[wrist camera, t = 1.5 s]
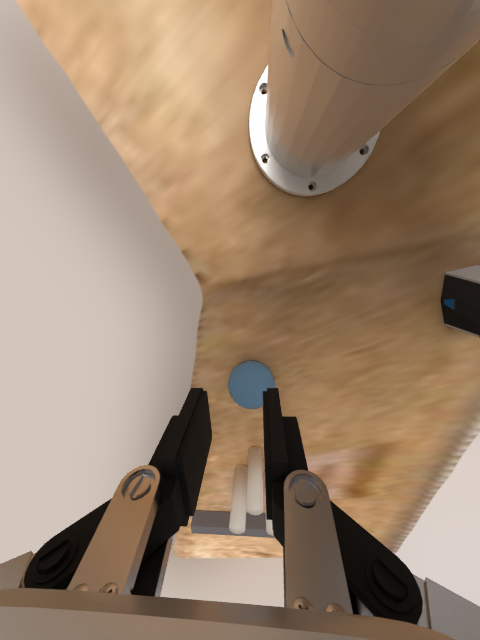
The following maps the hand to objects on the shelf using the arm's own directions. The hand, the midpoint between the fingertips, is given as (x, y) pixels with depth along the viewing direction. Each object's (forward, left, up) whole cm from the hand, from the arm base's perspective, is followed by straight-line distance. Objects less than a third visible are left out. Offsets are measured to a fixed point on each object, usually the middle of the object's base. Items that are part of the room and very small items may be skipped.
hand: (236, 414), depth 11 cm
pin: (+29, -3, -19) cm, 34 cm away
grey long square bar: (+41, 0, -19) cm, 45 cm away
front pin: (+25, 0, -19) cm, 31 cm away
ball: (+10, 0, -16) cm, 19 cm away
